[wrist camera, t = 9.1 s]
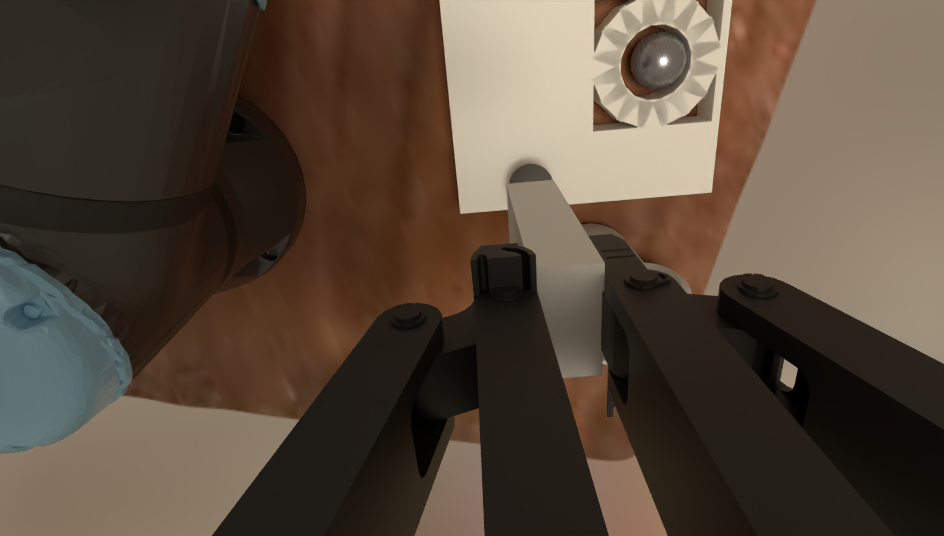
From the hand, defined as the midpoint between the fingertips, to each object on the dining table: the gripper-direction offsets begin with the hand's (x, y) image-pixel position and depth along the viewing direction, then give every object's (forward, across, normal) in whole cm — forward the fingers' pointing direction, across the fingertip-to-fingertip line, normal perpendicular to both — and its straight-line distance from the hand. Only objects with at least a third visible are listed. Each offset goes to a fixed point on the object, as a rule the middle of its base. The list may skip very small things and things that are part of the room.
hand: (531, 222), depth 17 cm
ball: (+21, +11, +3) cm, 24 cm away
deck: (+22, +6, +3) cm, 23 cm away
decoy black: (+18, +2, -4) cm, 19 cm away
